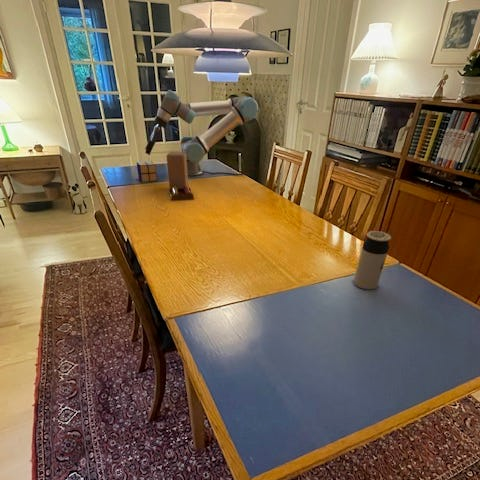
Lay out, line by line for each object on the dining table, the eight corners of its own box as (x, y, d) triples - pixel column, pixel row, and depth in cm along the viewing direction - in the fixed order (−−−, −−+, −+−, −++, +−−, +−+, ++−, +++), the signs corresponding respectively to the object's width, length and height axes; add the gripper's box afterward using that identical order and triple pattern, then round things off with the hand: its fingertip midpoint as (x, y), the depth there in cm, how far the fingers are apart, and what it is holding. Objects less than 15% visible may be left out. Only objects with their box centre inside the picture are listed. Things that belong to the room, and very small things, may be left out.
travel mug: (349, 283, 119) (361, 234, 109) (360, 276, 124) (373, 228, 113) (370, 292, 115) (384, 242, 104) (381, 284, 119) (396, 235, 109)
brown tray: (190, 192, 203) (190, 185, 201) (193, 199, 192) (193, 192, 190) (170, 193, 200) (169, 186, 198) (171, 200, 190) (171, 192, 187)
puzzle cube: (138, 178, 225) (136, 162, 219) (153, 177, 228) (151, 161, 222) (141, 182, 218) (139, 165, 212) (157, 180, 221) (155, 164, 215)
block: (186, 191, 203) (183, 155, 191) (169, 191, 203) (166, 154, 191) (188, 187, 211) (186, 151, 199) (172, 186, 211) (169, 151, 199)
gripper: (156, 113, 213) (141, 145, 221) (157, 116, 193) (141, 151, 201) (167, 120, 216) (152, 152, 224) (169, 124, 196) (153, 159, 204)
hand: (147, 152), depth 212 cm, fingers open, 13 cm apart
